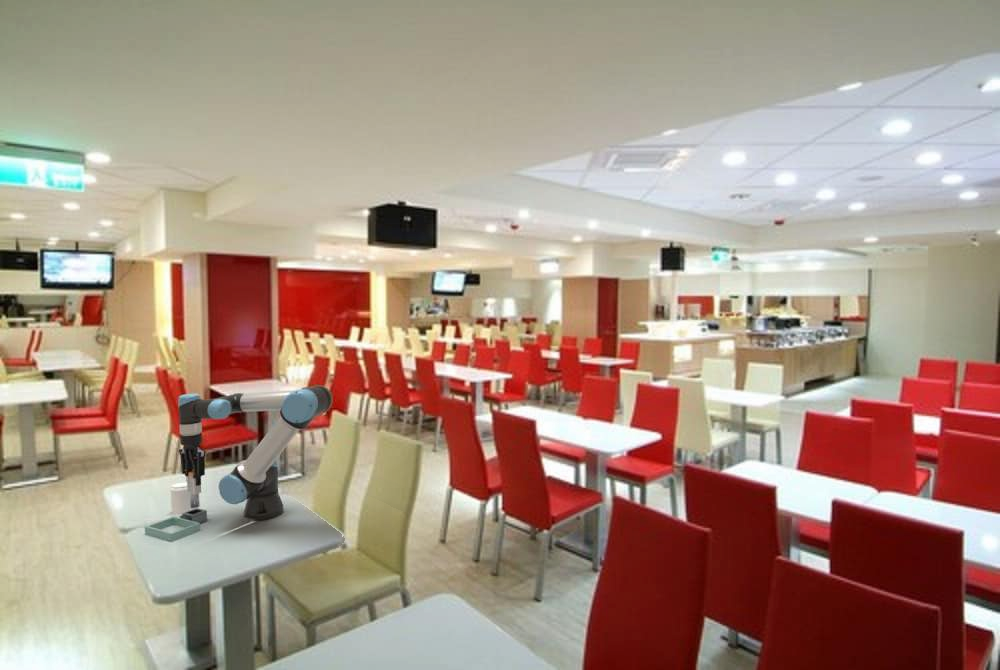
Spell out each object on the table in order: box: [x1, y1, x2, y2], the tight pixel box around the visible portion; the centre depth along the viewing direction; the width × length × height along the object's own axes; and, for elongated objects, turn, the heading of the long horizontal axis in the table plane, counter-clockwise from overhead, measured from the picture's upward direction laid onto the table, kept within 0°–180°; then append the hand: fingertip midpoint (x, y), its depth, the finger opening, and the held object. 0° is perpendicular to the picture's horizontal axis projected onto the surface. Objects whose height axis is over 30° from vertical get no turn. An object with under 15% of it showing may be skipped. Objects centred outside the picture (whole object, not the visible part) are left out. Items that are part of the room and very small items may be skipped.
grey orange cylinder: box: [189, 471, 201, 509], centre depth 211 cm, size 3×3×14 cm
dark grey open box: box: [179, 507, 211, 525], centre depth 213 cm, size 12×8×5 cm, turn 63°
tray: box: [144, 516, 201, 542], centre depth 202 cm, size 16×11×4 cm
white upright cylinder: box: [170, 481, 195, 515], centre depth 225 cm, size 8×8×12 cm
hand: (194, 492), depth 211 cm, fingers closed on grey orange cylinder, 3 cm apart
